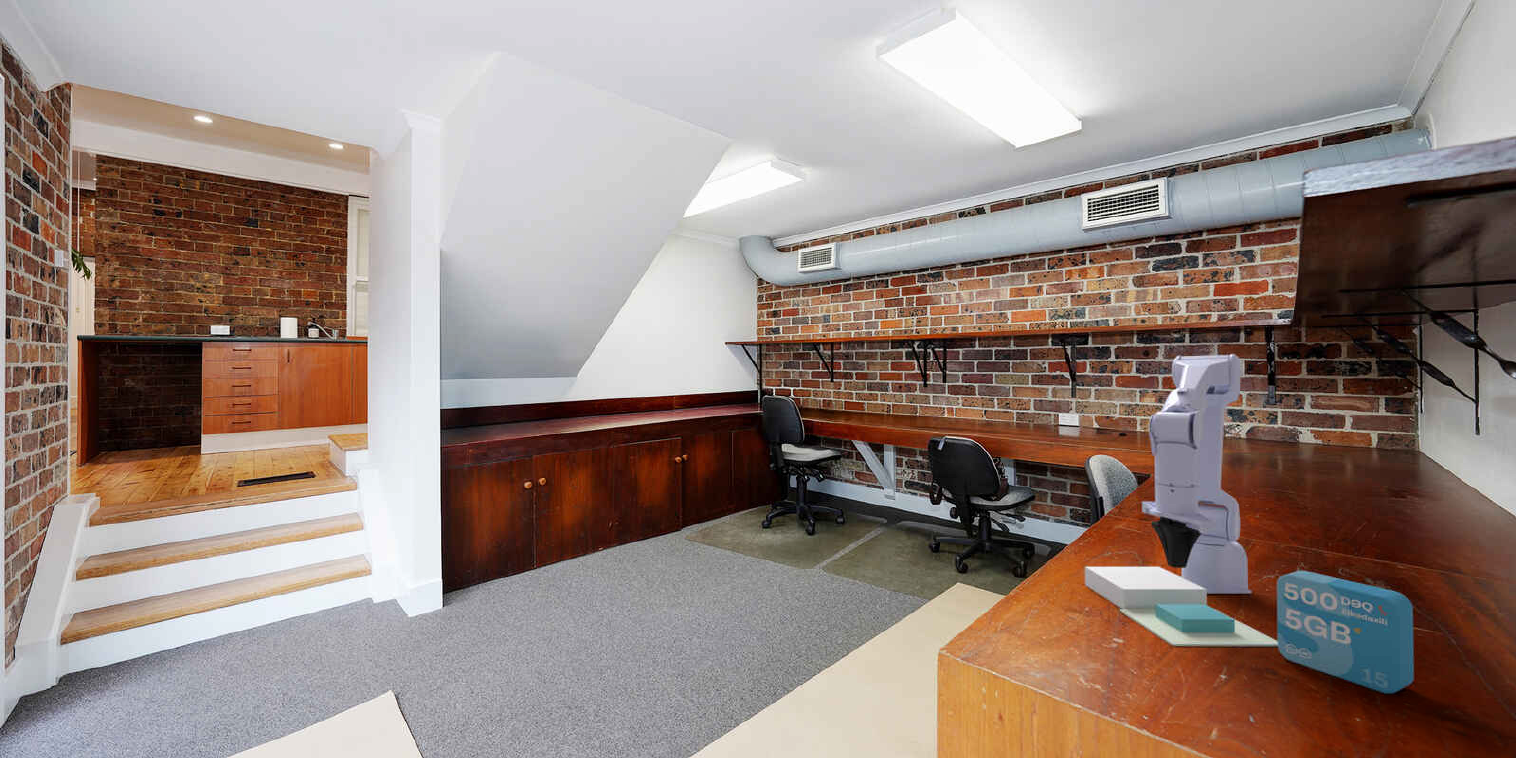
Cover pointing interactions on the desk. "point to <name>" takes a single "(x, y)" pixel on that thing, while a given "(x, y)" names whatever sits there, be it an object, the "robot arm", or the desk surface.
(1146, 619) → the mat
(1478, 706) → the desk surface
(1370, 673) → the data package
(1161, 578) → the white flat block
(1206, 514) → the robot arm
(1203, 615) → the tile
